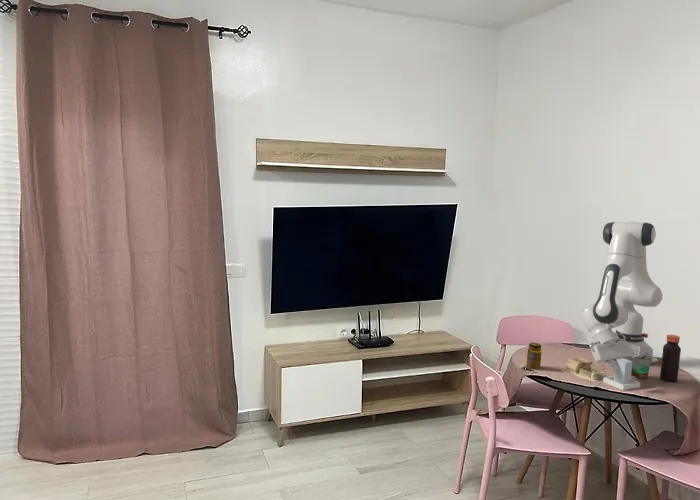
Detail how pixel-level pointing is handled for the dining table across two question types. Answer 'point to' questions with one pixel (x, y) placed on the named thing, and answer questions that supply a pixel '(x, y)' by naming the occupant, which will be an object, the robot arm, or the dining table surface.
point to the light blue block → (623, 371)
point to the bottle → (670, 359)
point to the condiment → (533, 358)
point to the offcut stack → (578, 364)
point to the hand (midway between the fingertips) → (622, 369)
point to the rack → (588, 374)
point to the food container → (640, 366)
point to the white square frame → (624, 387)
